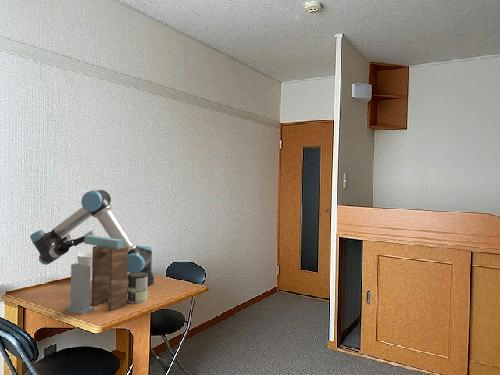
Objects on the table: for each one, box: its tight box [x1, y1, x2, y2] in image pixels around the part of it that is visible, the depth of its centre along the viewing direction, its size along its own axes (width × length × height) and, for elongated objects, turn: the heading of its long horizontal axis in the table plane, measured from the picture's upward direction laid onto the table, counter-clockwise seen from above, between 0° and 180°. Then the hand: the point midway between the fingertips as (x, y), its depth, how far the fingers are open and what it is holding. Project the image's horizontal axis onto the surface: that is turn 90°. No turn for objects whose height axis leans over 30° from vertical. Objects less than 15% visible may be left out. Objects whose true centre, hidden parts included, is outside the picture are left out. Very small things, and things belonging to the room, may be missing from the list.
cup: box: [76, 252, 93, 282], centre depth 233 cm, size 12×12×16 cm
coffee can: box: [127, 272, 148, 304], centre depth 199 cm, size 10×10×14 cm
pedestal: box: [64, 262, 95, 315], centre depth 181 cm, size 12×7×22 cm, turn 62°
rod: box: [83, 234, 124, 249], centre depth 191 cm, size 24×4×4 cm, turn 62°
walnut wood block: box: [90, 245, 128, 312], centre depth 189 cm, size 14×10×30 cm
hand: (82, 233), depth 203 cm, fingers open, 13 cm apart
